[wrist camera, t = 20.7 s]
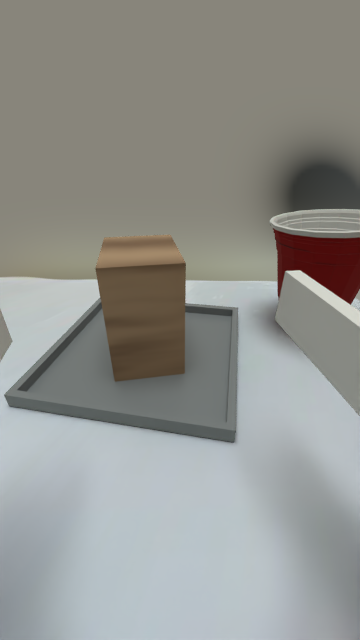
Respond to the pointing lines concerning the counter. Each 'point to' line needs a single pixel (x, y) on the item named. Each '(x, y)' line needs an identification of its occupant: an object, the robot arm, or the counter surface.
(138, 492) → the counter surface
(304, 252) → the plastic cup
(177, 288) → the walnut block
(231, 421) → the tray
